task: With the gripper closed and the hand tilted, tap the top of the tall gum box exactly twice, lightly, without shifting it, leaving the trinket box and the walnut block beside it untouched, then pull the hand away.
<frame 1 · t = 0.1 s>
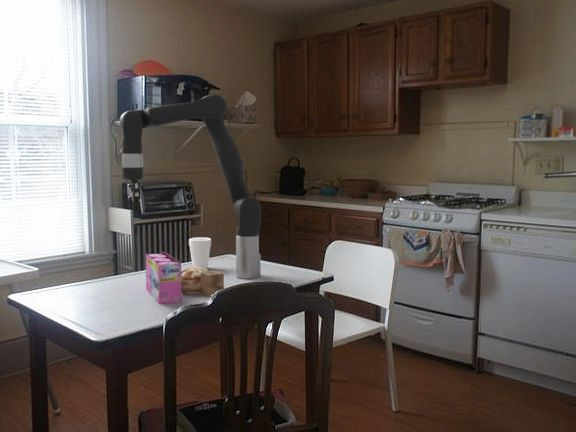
hand: (134, 210, 199), 29 cm above the table, tool pointing down, fingers open, 8 cm apart
trinket box: (195, 289, 203), on the table
gum box: (163, 295, 194), on the table
walnut block: (212, 294, 194), on the table
foam cup: (200, 268, 238), on the table
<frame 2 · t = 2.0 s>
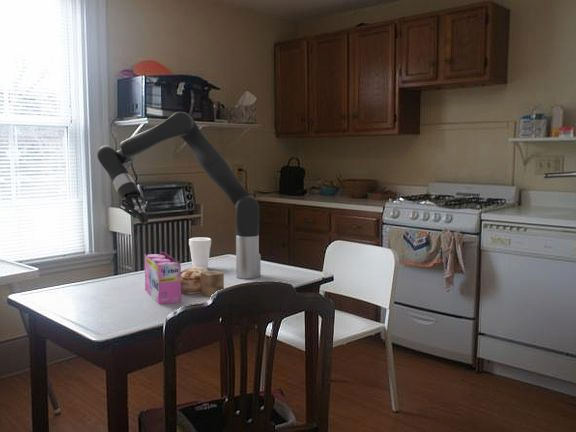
hand: (145, 222, 200), 25 cm above the table, tool tilted 45°, fingers closed
nothing on the table moved.
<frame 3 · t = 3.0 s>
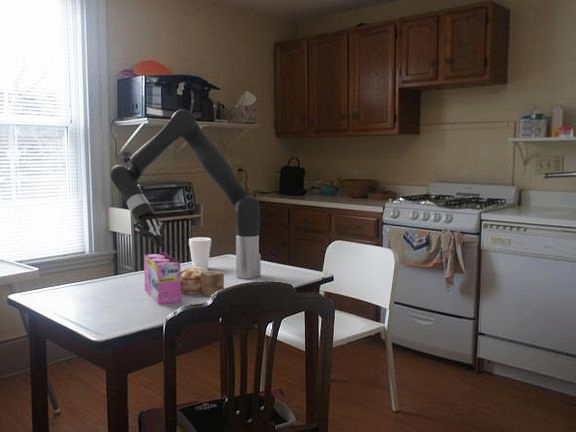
hand: (160, 245, 195), 17 cm above the table, tool tilted 45°, fingers closed
nothing on the table moved.
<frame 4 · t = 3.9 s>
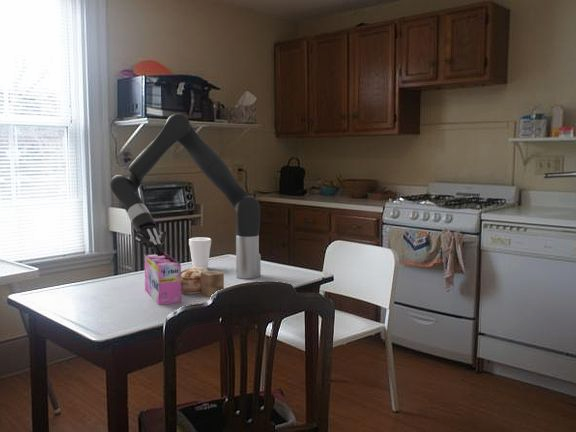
hand: (161, 254, 195), 14 cm above the table, tool tilted 45°, fingers closed
gum box: (162, 296, 193), on the table, touching gripper
everything else where it was.
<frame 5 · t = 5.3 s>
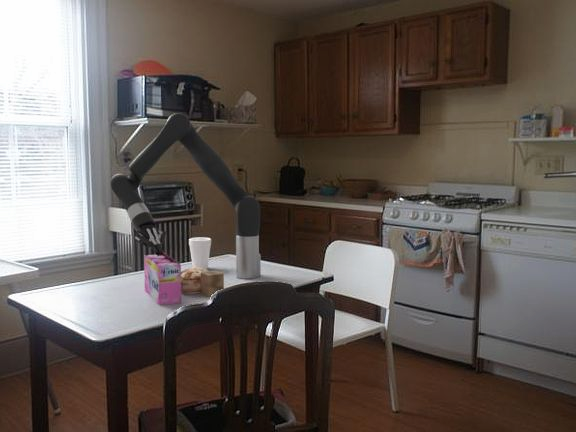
hand: (160, 254, 195), 14 cm above the table, tool tilted 45°, fingers closed
nothing on the table moved.
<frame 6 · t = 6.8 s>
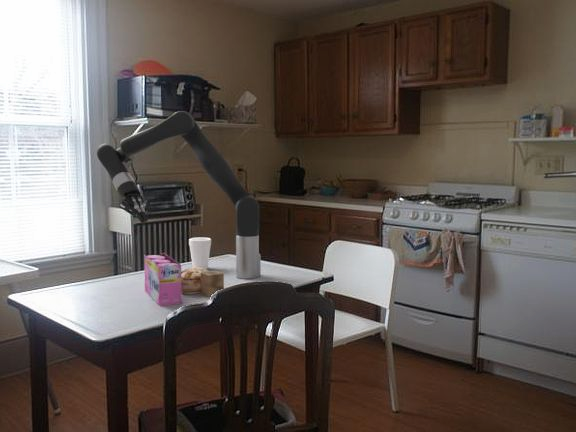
hand: (145, 221, 200), 25 cm above the table, tool tilted 45°, fingers closed
gum box: (162, 297, 191), on the table
everything else where it was.
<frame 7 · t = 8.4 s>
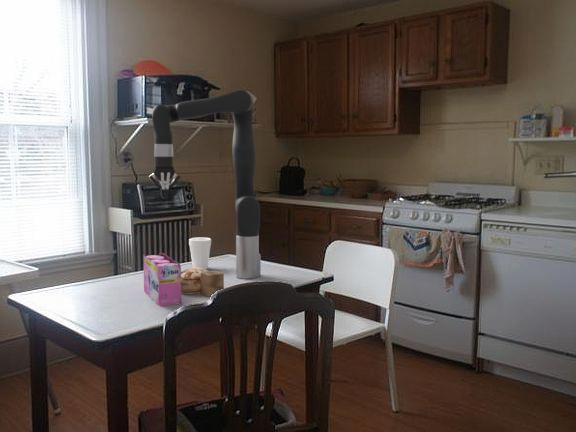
hand: (164, 198, 219), 32 cm above the table, tool pointing down, fingers closed
nothing on the table moved.
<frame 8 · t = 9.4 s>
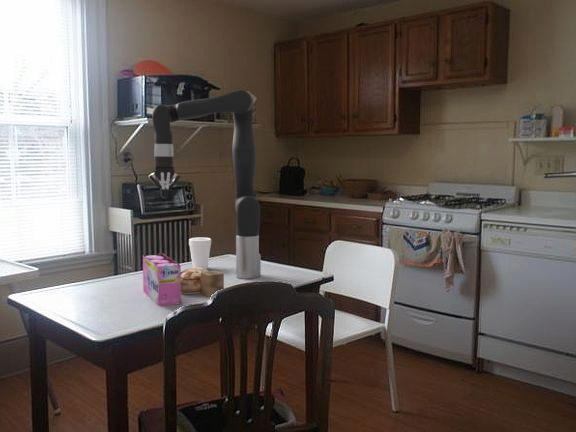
hand: (164, 198, 219), 32 cm above the table, tool pointing down, fingers closed
nothing on the table moved.
at the end: gum box moved 2.7 cm from its start; gum box tilted 0°; trinket box moved 1.1 cm from its start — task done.
